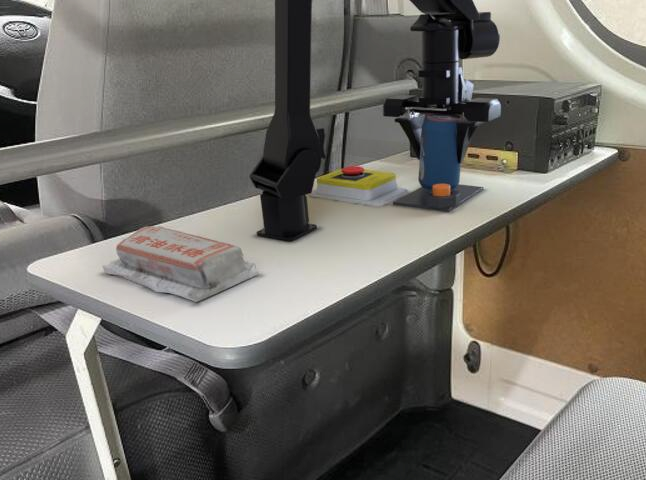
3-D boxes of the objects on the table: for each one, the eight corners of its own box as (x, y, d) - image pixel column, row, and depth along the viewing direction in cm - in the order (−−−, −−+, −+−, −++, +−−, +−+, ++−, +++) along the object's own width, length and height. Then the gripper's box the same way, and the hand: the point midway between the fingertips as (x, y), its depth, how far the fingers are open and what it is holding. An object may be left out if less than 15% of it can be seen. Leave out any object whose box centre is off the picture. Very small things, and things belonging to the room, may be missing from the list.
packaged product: (256, 238, 75) (189, 265, 68) (260, 275, 77) (196, 306, 70) (161, 216, 85) (94, 238, 77) (168, 250, 87) (103, 274, 79)
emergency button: (338, 159, 114) (409, 167, 107) (340, 183, 116) (409, 192, 108) (306, 170, 107) (379, 180, 100) (308, 196, 109) (380, 206, 102)
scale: (450, 213, 97) (450, 199, 96) (391, 205, 102) (391, 192, 101) (485, 190, 108) (485, 177, 107) (431, 184, 113) (431, 172, 112)
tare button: (445, 198, 98) (445, 188, 97) (429, 196, 99) (429, 187, 99) (453, 194, 100) (453, 184, 99) (437, 192, 101) (437, 182, 101)
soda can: (466, 189, 107) (473, 117, 102) (440, 197, 103) (446, 122, 97) (435, 179, 112) (441, 110, 106) (409, 187, 107) (413, 115, 102)
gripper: (515, 57, 100) (510, 155, 107) (412, 57, 109) (413, 147, 116) (488, 64, 92) (485, 170, 98) (379, 63, 101) (382, 160, 107)
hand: (440, 161), depth 105 cm, fingers closed on soda can, 7 cm apart
